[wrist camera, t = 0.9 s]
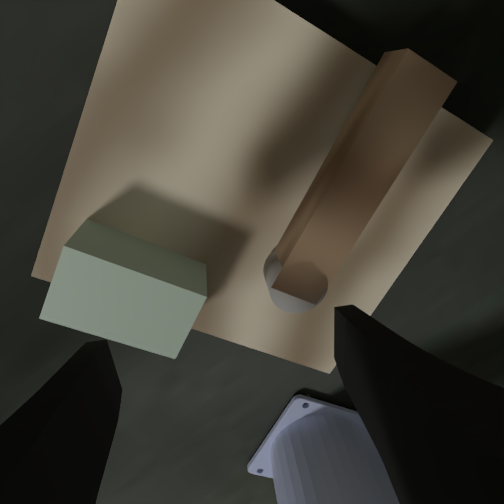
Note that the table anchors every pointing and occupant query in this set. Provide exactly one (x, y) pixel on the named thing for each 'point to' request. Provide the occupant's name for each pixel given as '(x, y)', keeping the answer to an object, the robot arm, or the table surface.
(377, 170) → the stool leg
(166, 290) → the block
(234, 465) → the table surface
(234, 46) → the stool seat
